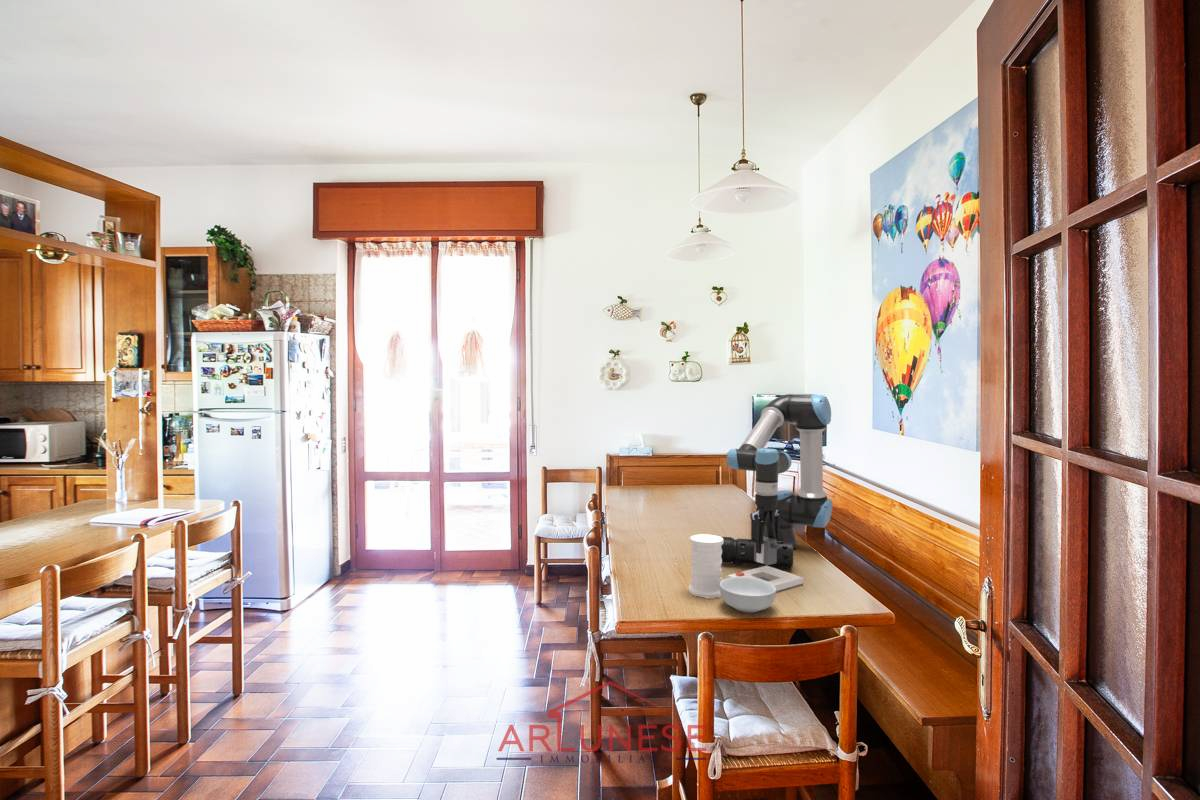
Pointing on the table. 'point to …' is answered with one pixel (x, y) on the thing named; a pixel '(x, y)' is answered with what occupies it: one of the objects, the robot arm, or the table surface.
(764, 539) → the plug
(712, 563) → the decorative container
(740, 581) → the cereal bowl
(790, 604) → the table surface
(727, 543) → the muzzle brake
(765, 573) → the socket plate
